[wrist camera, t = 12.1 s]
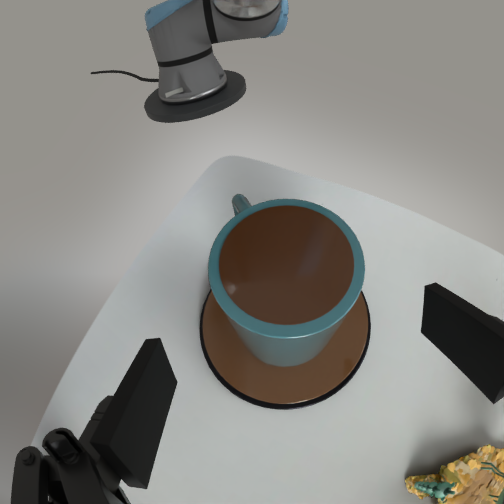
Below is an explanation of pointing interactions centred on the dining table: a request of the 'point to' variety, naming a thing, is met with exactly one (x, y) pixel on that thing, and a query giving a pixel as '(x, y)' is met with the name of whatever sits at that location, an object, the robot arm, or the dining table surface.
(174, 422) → the dining table surface
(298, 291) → the teal mug
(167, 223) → the dining table surface
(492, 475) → the green creature figurine
